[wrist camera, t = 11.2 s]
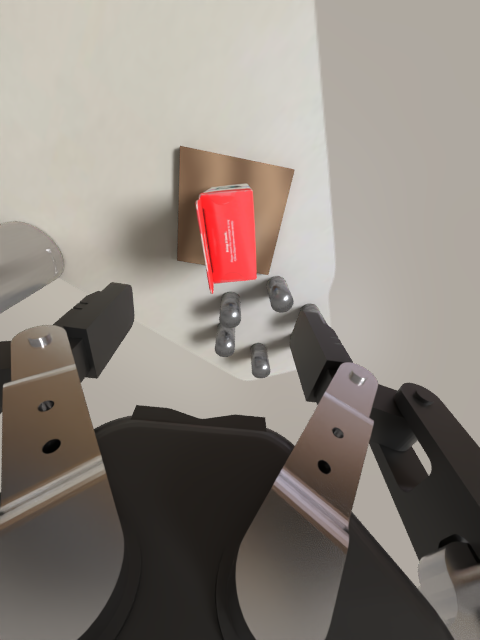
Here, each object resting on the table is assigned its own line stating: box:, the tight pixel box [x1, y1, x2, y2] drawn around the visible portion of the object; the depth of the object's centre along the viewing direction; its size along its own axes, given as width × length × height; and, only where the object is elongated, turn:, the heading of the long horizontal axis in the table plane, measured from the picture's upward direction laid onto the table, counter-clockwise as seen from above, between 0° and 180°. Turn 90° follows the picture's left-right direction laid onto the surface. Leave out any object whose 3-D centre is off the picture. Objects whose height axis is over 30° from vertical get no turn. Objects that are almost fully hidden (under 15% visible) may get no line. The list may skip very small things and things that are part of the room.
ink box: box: [195, 183, 257, 294], centre depth 26 cm, size 8×5×15 cm, turn 5°
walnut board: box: [177, 146, 294, 275], centre depth 32 cm, size 14×14×1 cm
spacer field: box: [215, 276, 327, 378], centre depth 40 cm, size 17×17×6 cm
